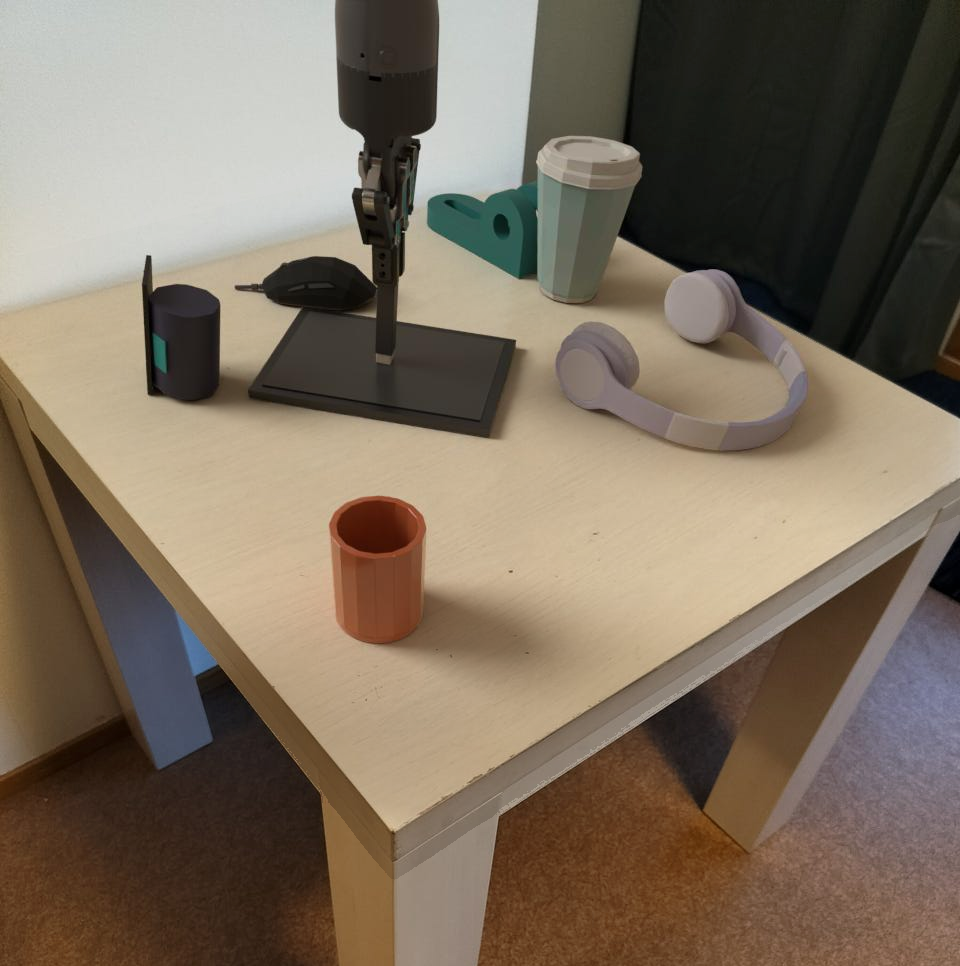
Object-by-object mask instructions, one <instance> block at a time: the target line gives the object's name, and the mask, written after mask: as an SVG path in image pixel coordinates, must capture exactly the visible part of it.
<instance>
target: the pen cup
mask: <svg viewBox="0 0 960 966" xmlns="http://www.w3.org/2000/svg"><path fill="white" fill-rule="evenodd" d="M424 517H425V516H424V515H423V514H422V513H421V512H420V511H419V510H418V509H417V508H416V507H415V505H413V504H411V503H408V502H406V501H405V500H403V499H400V498H397V497H392V496H386V495H369V496H368V495H367V496H361V497H357V498H355V499H352V500H350V501H347V502H345V503H344V504H342V506H340V507H339V508H338V509H336V510H335V511H334V512H333V514H332V517H331V519H330V521H329V523H328V532H329V535H328V536H329V546H330V559H331V560H330V561H331V563H330V564H331V574H332V575H331V576H332V590H333V592H332V593H333V605H334V612H335V613H334V614H335V618H336V621H337V624H338V625H339V628H341V629H342V631H344V633H346V634H347V635H349V636H350V637H352V638H353V639H356V640H358V641H361V642H365V643H369V644H388V643H394V642H396V641H400V640H403V639H404V638H406V637H408V636H409V635H411V634H412V633H413V632H414V631H415V630H416V629H417V628H418V627H419V625H420V623H421V621H422V619H423V616H424V615H423V613H424V607H425V606H424V605H425V582H426V581H425V580H426V553H427V551H426V550H427V549H426V548H427V525H426V521H425V518H424Z"/></svg>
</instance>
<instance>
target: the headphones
mask: <svg viewBox="0 0 960 966" xmlns="http://www.w3.org/2000/svg"><path fill="white" fill-rule="evenodd" d="M663 305H664V307H663V308H664V315H665V318H666V320H667V322H668V324H669V326H670V327H671V329H672V330H673V331H674V332H675V333H676V334H677V335H679V336H681V337H682V338H683V339H685V340H688V341H690V342H691V343H692V342H693V343H695V344H709V343H712V342H714V341H716V340H718V339H719V338H721V337H723V336H724V335H725V334H727V333H732V334H736V335H737V336H740V337H741V338H743V339H744V340H745V341H747V342H748V343H749V344H751V345H752V346H753V347H754V348H756V349H757V350H758V351H759V352H760V353H761V354H762V355H764V357H766V358H767V359H768V361H769V362H770V363H771V364H772V365H773V366H774V367H775V368H776V370H777V371H778V373H779V374H780V376H781V377H782V379H783V381H784V383H785V385H786V387H787V391H788V398H787V402H786V404H785V406H784V407H783V408H782V409H781V410H779V411H777V412H776V413H774V414H773V415H771V416H768V417H765V418H763V419H759V420H755V421H754V420H753V421H742V422H740V421H739V422H737V421H735V422H734V421H728V422H723V421H716V420H710V419H703V418H700V417H695V416H691V415H687V414H684V413H680V412H678V411H675V410H672V409H669V408H667V407H664V406H662V405H660V404H658V403H656V402H653V401H652V400H649V399H647V398H645V397H643V396H641V395H640V394H638V393H636V392H634V391H632V390H631V389H632V388H633V387H634V386H635V385H636V384H637V382H638V380H639V379H640V360H639V357H638V355H637V353H636V350H635V349H634V346H632V344H631V342H630V341H629V340H628V338H627V337H626V336H625V335H624V334H622V332H621V331H619V330H618V329H617V328H615V327H613V326H612V325H609V324H606V323H605V322H600V321H592V320H591V321H584V322H582V323H580V324H579V325H577V326H576V327H575V328H574V329H573V330H572V332H571V333H569V334H568V335H567V336H566V337H565V338H564V339H563V340H562V342H561V344H560V347H559V350H558V351H557V353H556V356H555V363H554V365H555V366H554V367H555V374H556V379H557V382H558V384H559V386H560V387H559V388H561V390H562V392H563V393H564V395H565V396H566V397H567V399H568V400H569V401H571V402H572V404H574V405H575V406H577V407H579V408H582V409H585V410H598V409H601V410H607V411H608V412H610V413H612V414H614V415H616V416H618V417H619V418H621V419H623V420H625V421H626V422H628V423H630V424H632V425H633V426H636V427H638V428H639V429H642V430H644V431H646V432H648V433H651V434H654V435H656V436H659V437H661V438H663V439H665V440H668V441H672V442H674V443H677V444H680V445H684V446H689V447H693V448H699V449H706V450H713V451H715V450H716V451H740V450H741V451H743V450H750V449H754V448H759V447H762V446H766V445H768V444H770V443H772V442H774V441H776V440H777V439H779V438H780V437H781V436H783V435H784V434H785V433H787V431H788V430H789V429H790V428H791V427H792V425H793V423H794V421H795V419H796V417H797V415H798V414H799V411H800V410H801V408H802V406H803V404H804V402H805V400H806V398H807V395H808V391H809V380H808V379H809V378H808V377H809V376H808V374H807V370H806V367H805V364H804V362H803V360H802V358H801V355H800V354H799V352H798V351H797V349H796V348H795V346H794V345H793V344H792V342H791V341H790V340H789V339H788V338H787V337H786V335H784V334H783V333H782V332H781V331H780V330H779V329H777V328H776V327H775V326H774V325H773V324H772V323H771V322H770V321H768V320H767V319H766V318H764V317H763V316H762V315H760V314H759V313H758V312H756V311H755V310H754V309H752V308H751V307H749V305H748V304H747V303H746V301H745V300H744V298H743V296H742V292H741V290H740V287H739V286H738V285H737V282H736V281H735V280H734V278H733V277H732V276H731V275H730V274H728V273H727V272H725V271H723V270H720V269H707V270H706V269H701V270H695V271H694V270H693V271H692V272H686V273H682V274H680V275H678V276H676V277H675V278H674V279H673V280H672V281H671V283H670V285H669V287H668V289H667V291H666V293H665V297H664V301H663Z"/></svg>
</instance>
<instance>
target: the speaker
mask: <svg viewBox="0 0 960 966" xmlns="http://www.w3.org/2000/svg"><path fill="white" fill-rule="evenodd" d="M141 290H142V291H141V293H142V294H141V296H142V297H141V298H142V314H143V334H144V335H143V337H144V352H145V371H146V373H145V374H146V391H147V392H146V393H147V396H153V394H154V393H153V392H154V386H155V387H156V388H157V389H158V390H159V391H161V392H162V393H163V394H164V395H166V396H170V397H173V398H178V399H181V400H184V401H187V400H188V401H189V400H190V401H197V400H199V399H200V400H201V399H203V398H207V397H211V396H213V395H214V394H215V392H216V391H217V390H218V389H219V387H220V374H221V373H220V368H221V367H220V363H221V301H220V299H219V298H218V297H217V296H215V295H214V294H213V293H211V292H210V291H209V290H207V289H205V288H201V287H197V286H193V285H191V284H184V283H172V284H166V285H162V286H157V287H156V288H155V289H154V285H153V262H152V255H149V254H146V255H145V261H144V267H143V274H142V280H141Z"/></svg>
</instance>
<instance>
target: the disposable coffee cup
mask: <svg viewBox="0 0 960 966" xmlns="http://www.w3.org/2000/svg"><path fill="white" fill-rule="evenodd" d="M640 156H641V153H640V152H639V151H638V150H637V149H635V147H633V146H631V145H629V144H626V143H624V142H620V141H617V140H614V139H608V138H603V137H597V136H591V135H590V136H589V135H565V136H559V137H554V138H551V139H550V140H549V141H547V143H546V144H545V145H544V146H543V147H542V148H541V149H540V150H539V151H538V152H537V157H536V161H535V163H536V165H537V181H538V212H537V218H538V272H537V281H538V285H539V289H540V291H541V293H542V294H543V295H545V296H546V297H548V298H549V299H551V300H553V301H554V300H555V301H557V302H560V303H565V304H583V303H586V302H588V301H592V300H593V298H594V296H595V295H596V293H597V292H598V290H599V289H600V286H601V284H602V280H603V278H604V275H605V273H606V269H607V266H608V264H609V261H610V258H611V256H612V252H613V251H614V250H613V249H614V246H615V244H616V241H617V238H618V235H619V233H620V231H621V230H620V229H621V226H622V224H623V221H624V219H625V216H626V213H627V209H628V207H629V204H630V202H631V199H632V196H633V192H634V190H635V188H636V186H637V184H638V183H639V181H640V179H641V178H642V177H643V175H642V172H643V165H642V163H641V162H640Z"/></svg>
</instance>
